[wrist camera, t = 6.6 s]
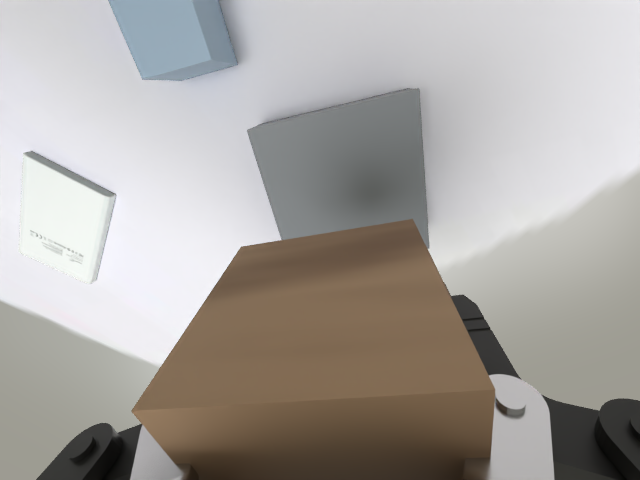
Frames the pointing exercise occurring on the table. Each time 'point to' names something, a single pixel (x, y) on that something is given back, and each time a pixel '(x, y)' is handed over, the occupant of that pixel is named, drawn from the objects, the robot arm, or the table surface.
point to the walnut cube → (325, 367)
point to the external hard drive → (63, 218)
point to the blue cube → (175, 37)
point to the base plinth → (345, 166)
